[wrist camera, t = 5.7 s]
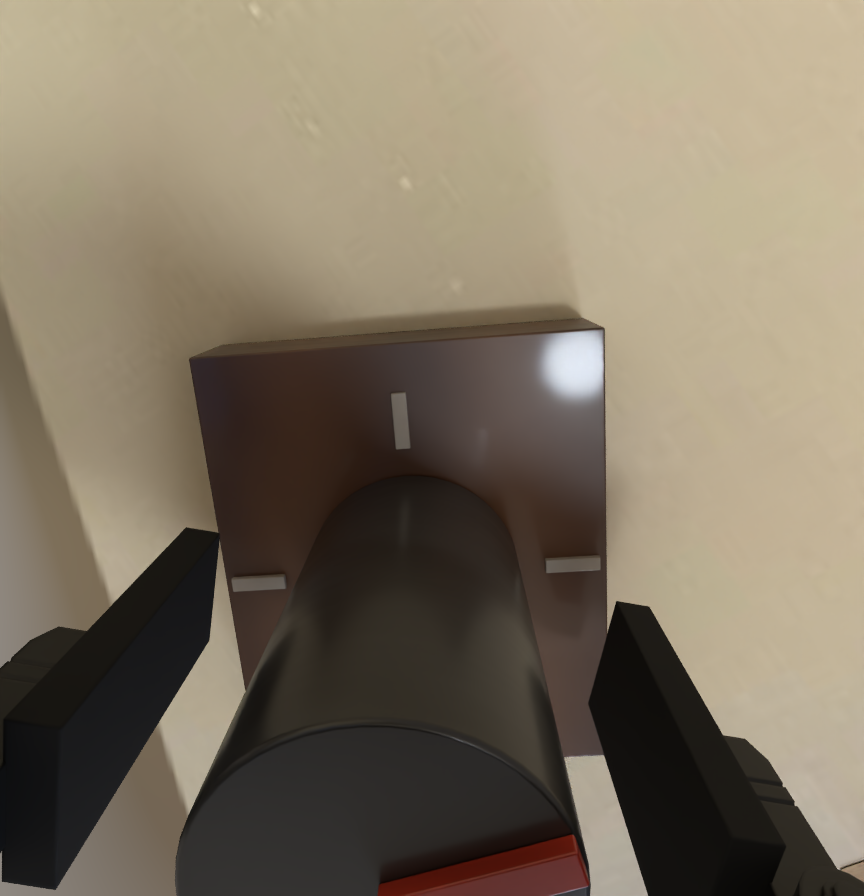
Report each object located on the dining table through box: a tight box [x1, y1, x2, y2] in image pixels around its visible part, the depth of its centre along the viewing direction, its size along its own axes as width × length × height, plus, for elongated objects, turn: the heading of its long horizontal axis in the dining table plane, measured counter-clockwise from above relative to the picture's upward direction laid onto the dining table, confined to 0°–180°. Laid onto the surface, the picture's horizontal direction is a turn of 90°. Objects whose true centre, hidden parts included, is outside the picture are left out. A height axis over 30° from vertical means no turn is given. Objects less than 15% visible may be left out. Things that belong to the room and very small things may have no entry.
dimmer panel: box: [189, 318, 607, 757], centre depth 19 cm, size 10×12×3 cm
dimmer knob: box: [175, 476, 591, 896], centre depth 13 cm, size 5×5×10 cm
